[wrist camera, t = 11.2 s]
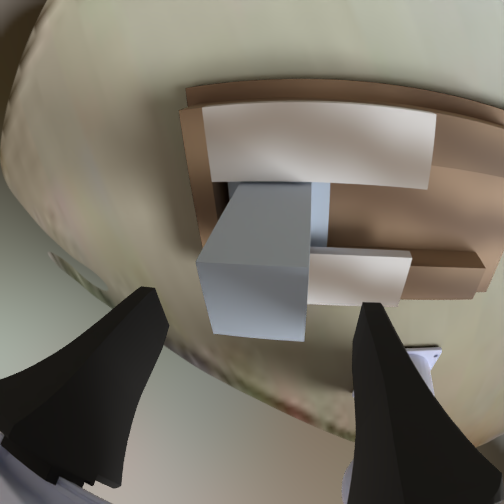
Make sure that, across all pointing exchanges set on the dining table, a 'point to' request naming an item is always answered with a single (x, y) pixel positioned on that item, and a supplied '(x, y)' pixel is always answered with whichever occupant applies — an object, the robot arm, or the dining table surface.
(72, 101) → the dining table surface
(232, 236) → the t stud
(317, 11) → the dining table surface
